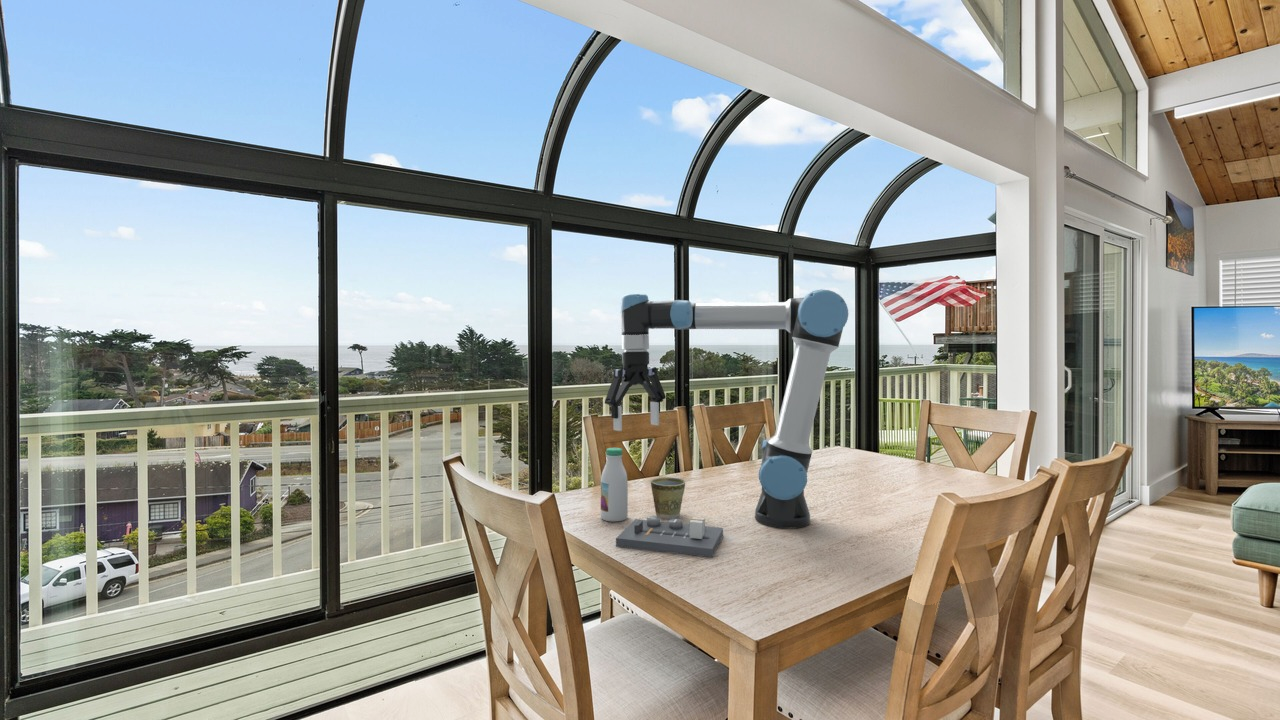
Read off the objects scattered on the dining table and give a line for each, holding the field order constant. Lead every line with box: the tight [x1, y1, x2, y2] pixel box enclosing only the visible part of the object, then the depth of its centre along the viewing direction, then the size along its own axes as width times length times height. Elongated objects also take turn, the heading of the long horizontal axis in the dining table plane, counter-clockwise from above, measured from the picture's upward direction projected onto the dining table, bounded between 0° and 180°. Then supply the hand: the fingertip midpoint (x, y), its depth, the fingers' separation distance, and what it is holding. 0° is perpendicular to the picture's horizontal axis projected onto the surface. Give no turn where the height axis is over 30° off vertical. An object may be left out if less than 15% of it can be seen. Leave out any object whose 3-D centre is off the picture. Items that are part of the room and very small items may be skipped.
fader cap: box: [689, 516, 706, 539], centre depth 145 cm, size 3×4×4 cm
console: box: [615, 516, 724, 558], centre depth 148 cm, size 24×16×4 cm, turn 73°
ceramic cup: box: [650, 476, 686, 520], centre depth 171 cm, size 13×10×10 cm
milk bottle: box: [600, 447, 629, 523], centre depth 166 cm, size 8×8×20 cm
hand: (636, 427), depth 161 cm, fingers open, 13 cm apart
